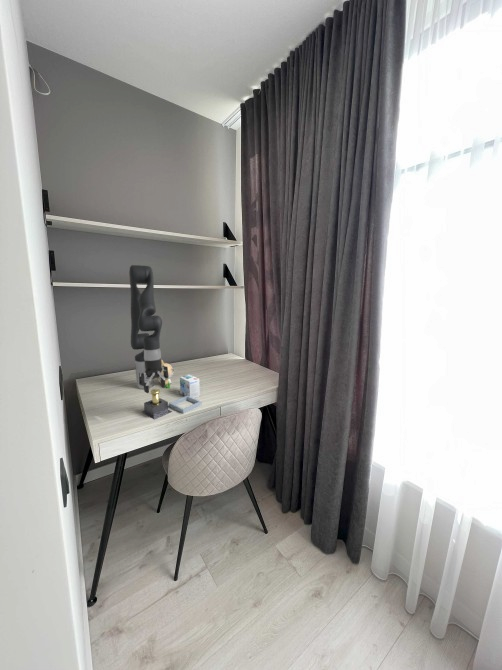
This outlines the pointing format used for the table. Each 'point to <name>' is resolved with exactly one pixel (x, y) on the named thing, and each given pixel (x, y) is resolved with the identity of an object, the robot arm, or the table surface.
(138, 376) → the robot arm
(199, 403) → the tray
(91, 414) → the table surface
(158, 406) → the block
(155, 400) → the pin
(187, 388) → the light bulb box
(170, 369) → the kitten
